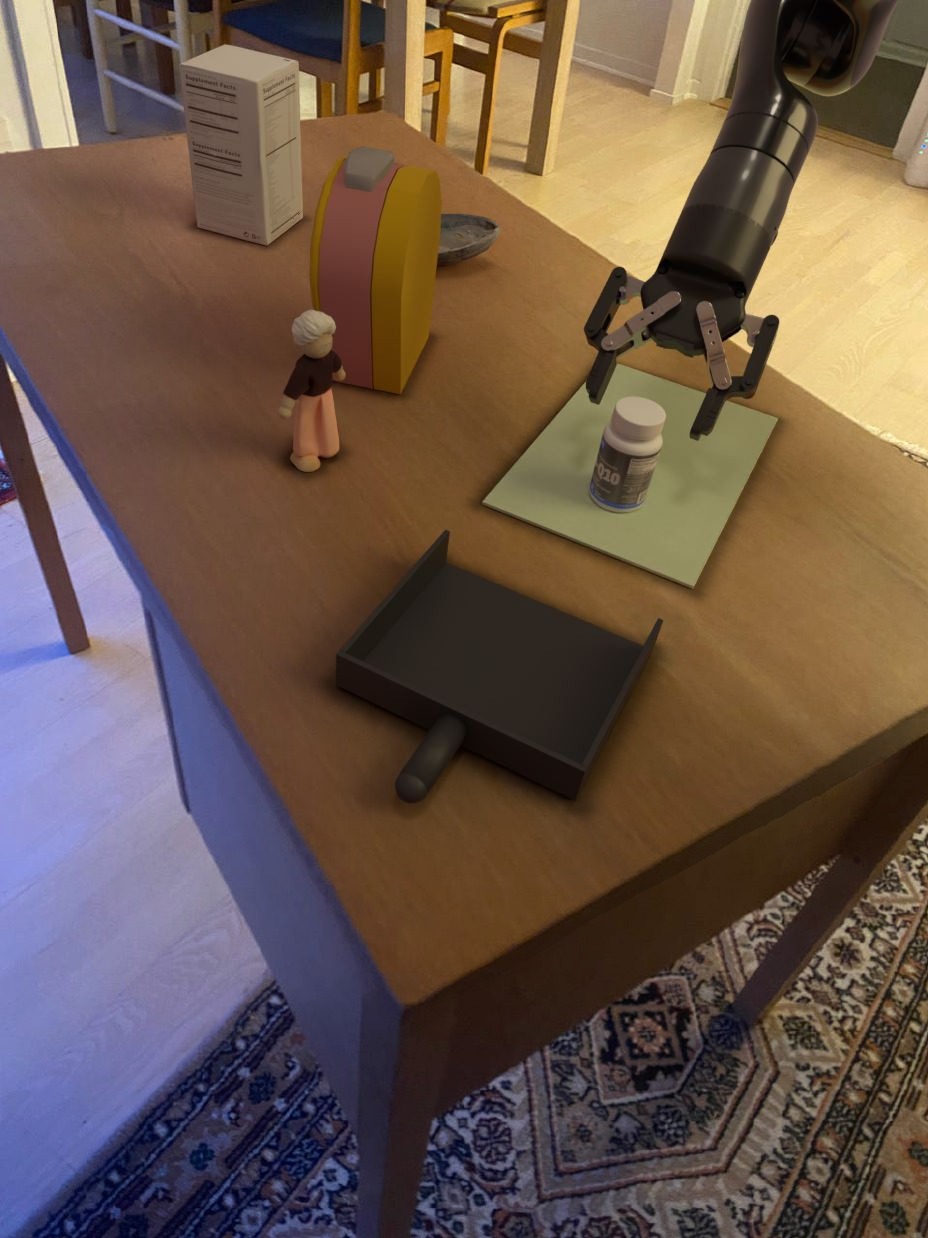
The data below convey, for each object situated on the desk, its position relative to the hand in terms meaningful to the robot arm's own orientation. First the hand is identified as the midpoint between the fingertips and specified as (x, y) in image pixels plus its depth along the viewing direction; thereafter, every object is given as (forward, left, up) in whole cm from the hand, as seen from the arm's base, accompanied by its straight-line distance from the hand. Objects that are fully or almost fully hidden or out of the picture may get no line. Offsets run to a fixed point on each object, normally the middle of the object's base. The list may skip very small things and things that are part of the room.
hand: (643, 418), depth 71 cm
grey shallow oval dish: (-10, -44, -7) cm, 46 cm away
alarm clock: (+7, -28, -7) cm, 30 cm away
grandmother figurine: (+20, -17, -7) cm, 27 cm away
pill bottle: (+2, +1, -7) cm, 7 cm away
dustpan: (+24, +11, -7) cm, 28 cm away
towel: (-5, -2, -7) cm, 9 cm away
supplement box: (+3, -60, -7) cm, 61 cm away
